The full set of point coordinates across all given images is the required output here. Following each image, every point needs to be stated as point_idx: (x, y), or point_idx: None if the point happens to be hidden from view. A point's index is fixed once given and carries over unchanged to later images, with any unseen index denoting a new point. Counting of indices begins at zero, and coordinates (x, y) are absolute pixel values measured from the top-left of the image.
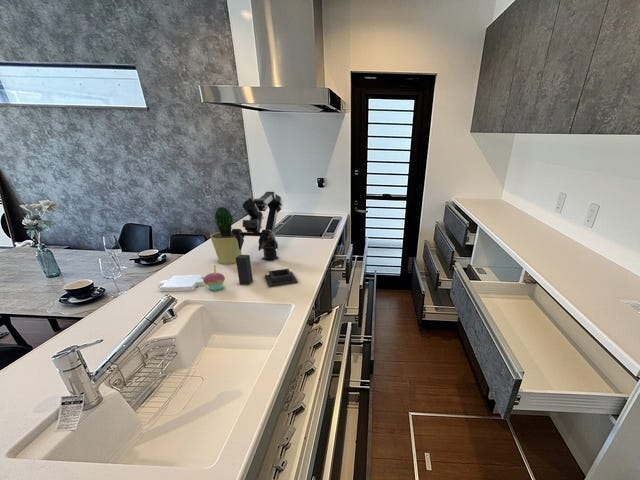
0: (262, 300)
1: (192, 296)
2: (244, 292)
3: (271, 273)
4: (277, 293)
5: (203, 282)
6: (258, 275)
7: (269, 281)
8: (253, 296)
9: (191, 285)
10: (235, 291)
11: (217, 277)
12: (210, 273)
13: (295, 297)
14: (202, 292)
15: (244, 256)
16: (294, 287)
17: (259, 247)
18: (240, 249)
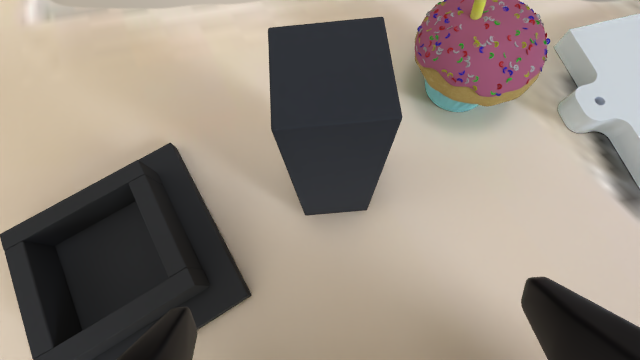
0: (170, 25)
1: None
2: None
3: (160, 240)
4: (116, 93)
5: (569, 107)
6: (310, 316)
7: (181, 193)
8: (223, 48)
9: (584, 40)
10: None
11: (443, 11)
12: (527, 28)
13: (25, 72)
14: None
15: (306, 70)
16: (34, 171)
17: (148, 336)
18: (525, 297)
